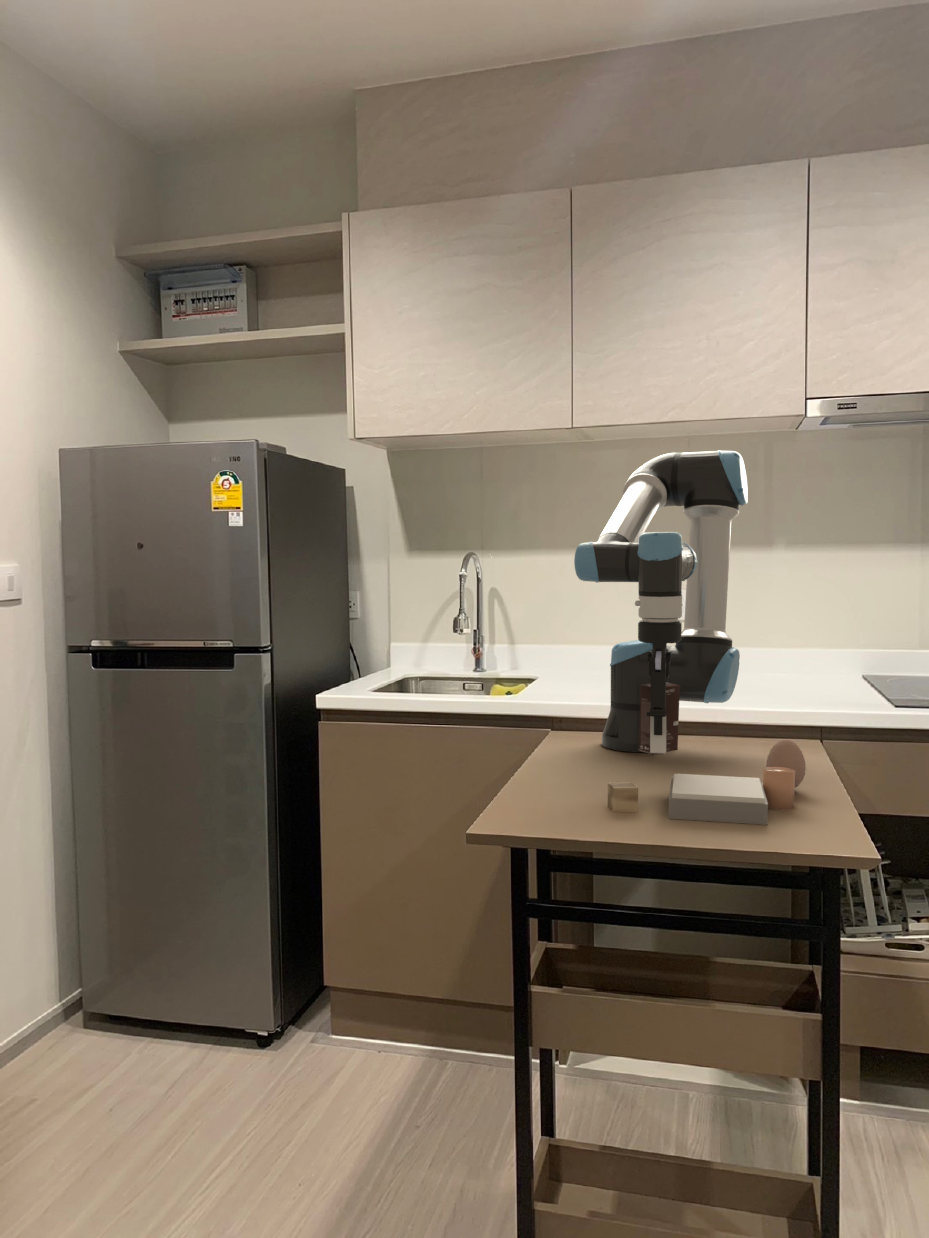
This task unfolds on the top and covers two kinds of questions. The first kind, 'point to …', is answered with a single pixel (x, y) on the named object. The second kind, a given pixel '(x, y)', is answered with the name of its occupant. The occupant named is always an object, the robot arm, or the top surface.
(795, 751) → the egg
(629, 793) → the oak block
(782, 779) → the tan round piece
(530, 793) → the top surface
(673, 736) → the box
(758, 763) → the top surface
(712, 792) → the podium
